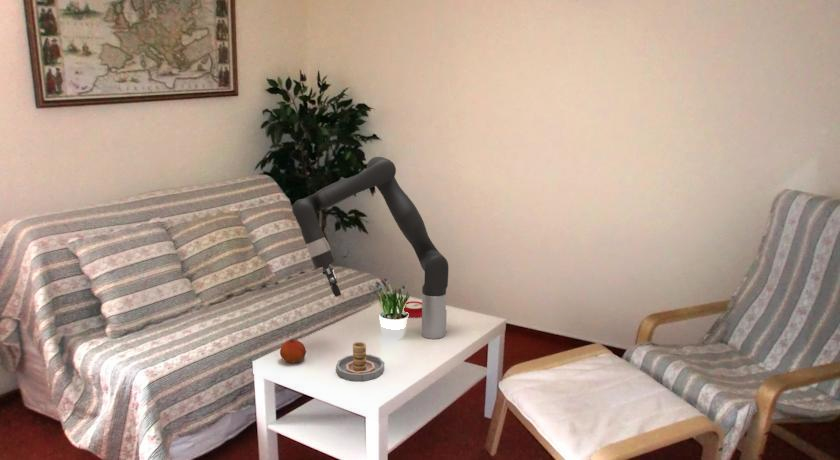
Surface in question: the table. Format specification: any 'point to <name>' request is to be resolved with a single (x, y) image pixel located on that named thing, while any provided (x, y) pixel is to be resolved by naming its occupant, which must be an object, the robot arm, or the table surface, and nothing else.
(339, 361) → the round tray
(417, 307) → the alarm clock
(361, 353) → the bead stack
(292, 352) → the fruit
